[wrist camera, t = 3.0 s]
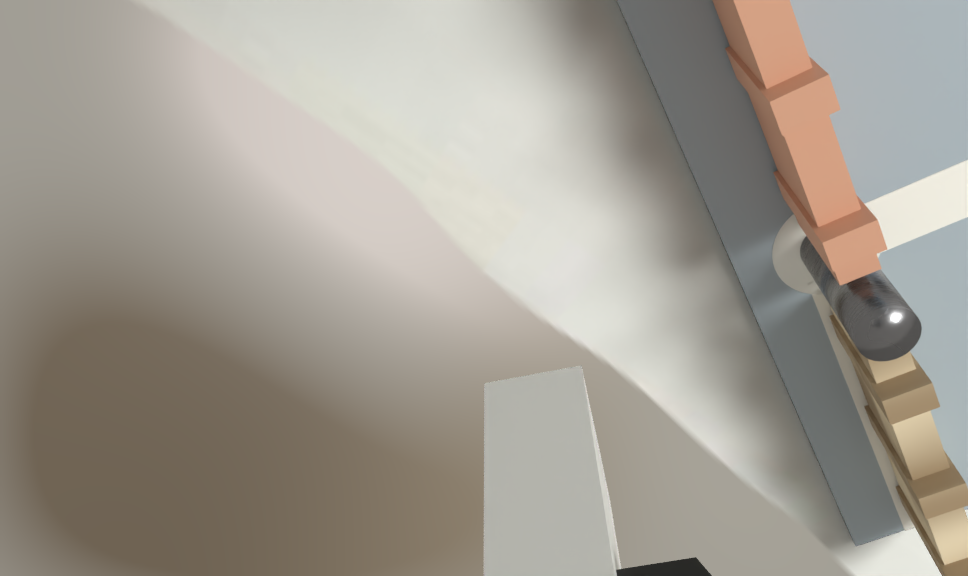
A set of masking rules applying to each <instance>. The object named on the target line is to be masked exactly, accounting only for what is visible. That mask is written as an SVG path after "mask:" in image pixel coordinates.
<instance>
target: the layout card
mask: <svg viewBox="0 0 968 576" xmlns="http://www.w3.org/2000/svg"><path fill="white" fill-rule="evenodd" d="M617 2H618V4H619V7H620V9H621V11H622V14H623V16H624V18H625V20H626V23H627V25H628V27H629V30H630V32H631V34H632V36H633V39H634V41H635V43H636V46H637V48H638V50H639V52H640V55H641V57H642V59H643V62H644V64H645V66H646V68H647V71H648V73H649V75H650V78H651V80H652V82H653V84H654V87H655V89H656V91H657V94H658V96H659V98H660V100H661V103H662V105H663V107H664V110H665V112H666V114H667V116H668V119H669V121H670V123H671V126H672V128H673V130H674V132H675V135H676V137H677V139H678V142H679V144H680V146H681V148H682V151H683V153H684V155H685V158H686V160H687V162H688V164H689V167H690V169H691V171H692V174H693V176H694V178H695V180H696V183H697V185H698V187H699V190H700V192H701V194H702V196H703V199H704V201H705V203H706V206H707V208H708V210H709V212H710V215H711V217H712V219H713V222H714V224H715V226H716V228H717V231H718V233H719V235H720V238H721V240H722V242H723V244H724V247H725V249H726V251H727V254H728V256H729V258H730V260H731V263H732V265H733V267H734V270H735V272H736V274H737V276H738V279H739V281H740V283H741V286H742V288H743V290H744V292H745V295H746V297H747V299H748V302H749V304H750V306H751V308H752V311H753V313H754V315H755V318H756V320H757V322H758V324H759V327H760V329H761V331H762V334H763V336H764V338H765V340H766V343H767V345H768V347H769V350H770V352H771V354H772V356H773V359H774V361H775V363H776V366H777V368H778V370H779V372H780V375H781V377H782V379H783V382H784V384H785V386H786V388H787V391H788V393H789V395H790V398H791V400H792V402H793V404H794V407H795V409H796V411H797V414H798V416H799V418H800V420H801V423H802V425H803V427H804V430H805V432H806V434H807V436H808V439H809V441H810V443H811V446H812V448H813V450H814V452H815V455H816V457H817V459H818V462H819V464H820V466H821V468H822V471H823V473H824V475H825V478H826V480H827V482H828V484H829V487H830V489H831V491H832V494H833V496H834V498H835V500H836V503H837V505H838V507H839V510H840V512H841V514H842V516H843V519H844V521H845V523H846V526H847V528H848V530H849V532H850V535H851V537H852V539H853V541H854V544H855V546H859V545H862V544H865V543H868V542H871V541H874V540H877V539H880V538H883V537H886V536H889V535H892V534H895V533H898V532H901V531H904V530H905V531H906V530H909V529H912V528H915V526H914V524H913V523H912V521H911V519H910V517H909V515H908V514H907V512H906V510H905V508H904V506H903V505H902V503H901V500H900V497H899V495H898V492H897V490H896V486H899V484H898V481H897V478H896V476H895V473H894V471H893V468H892V465H891V463H890V460H889V458H888V455H887V452H886V450H885V448H884V446H883V444H882V443H881V441H880V439H879V437H878V436H877V434H876V432H875V431H874V429H873V427H872V425H871V423H870V420H869V418H868V415H867V412H866V410H865V407H864V406H867V405H868V403H867V400H866V398H865V395H864V393H863V390H862V388H861V385H860V382H859V380H858V377H857V375H856V372H855V369H854V367H853V364H852V362H851V359H850V357H849V356H848V354H847V353H846V351H845V349H844V348H843V346H842V344H841V343H840V341H839V339H838V338H837V335H836V333H835V330H834V328H833V325H832V322H831V320H830V317H829V316H830V315H833V312H832V310H831V307H830V304H829V303H828V301H827V300H826V298H825V296H824V295H823V293H822V292H821V290H820V289H819V287H818V285H817V284H816V282H815V281H814V279H813V277H812V276H811V274H810V273H809V271H808V269H807V268H806V266H805V265H804V263H803V262H802V260H801V257H800V247H801V244H802V242H803V240H804V238H805V237H806V234H805V233H804V231H803V230H802V228H801V227H800V225H799V224H798V221H797V219H796V216H795V215H794V213H793V212H792V210H791V209H790V207H789V206H788V204H787V203H786V202H785V200H784V199H783V196H782V194H781V191H780V189H779V186H778V183H777V181H776V178H775V176H774V173H773V172H775V171H777V167H776V164H775V162H774V159H773V157H772V154H771V151H770V149H769V146H768V144H767V141H766V138H765V136H764V133H763V131H762V128H761V125H760V123H759V120H758V118H757V115H756V112H755V110H754V107H753V105H752V102H751V99H750V97H749V94H748V92H747V91H746V89H745V88H744V87H743V86H742V84H741V83H740V82H739V81H738V79H737V78H736V75H735V73H734V70H733V68H732V65H731V62H730V60H729V57H728V55H727V52H726V50H725V48H727V47H729V46H730V45H729V42H728V40H727V37H726V35H725V32H724V29H723V27H722V24H721V22H720V19H719V16H718V14H717V11H716V9H715V6H714V3H713V1H712V0H617ZM790 3H791V6H792V9H793V12H794V15H795V17H796V20H797V23H798V26H799V29H800V32H801V35H802V38H803V41H804V44H805V47H806V50H807V52H808V55H809V57H811V58H812V59H813V60H814V61H815V62H816V63H817V64H818V65H819V66H820V67H821V68H823V69H824V70H825V71H826V72H827V73H828V74H829V76H830V79H831V82H832V85H833V88H834V91H835V94H836V97H837V100H838V103H839V106H840V109H841V110H839V111H837V112H835V113H832V114H830V115H829V117H830V119H831V122H832V125H833V128H834V131H835V134H836V137H837V140H838V143H839V146H840V149H841V152H842V154H843V157H844V160H845V163H846V166H847V169H848V172H849V175H850V178H851V181H852V184H853V186H854V189H855V192H856V195H857V196H858V197H859V198H860V199H861V201H862V202H863V203H864V204H865V205H866V206H867V208H868V209H869V210H870V211H871V212H872V214H873V215H874V216H875V217H876V218H877V219H878V222H879V225H880V228H881V231H882V234H883V237H884V240H885V243H886V246H887V250H885V251H882V252H880V253H877V256H878V259H879V262H880V265H881V268H882V269H881V270H882V272H883V273H884V274H885V275H886V277H887V278H888V279H889V281H890V282H891V283H892V284H893V286H894V287H895V288H896V290H897V291H898V292H899V293H900V295H901V296H902V297H903V299H904V300H905V301H906V303H907V304H908V305H909V306H910V308H911V309H912V310H913V312H914V313H915V314H916V315H917V317H918V318H919V320H920V322H921V326H922V331H921V336H920V339H919V341H918V342H917V344H916V345H915V346H914V348H913V349H912V350H910V352H911V354H912V355H913V356H914V358H915V359H916V361H917V362H918V363H919V365H920V366H921V368H922V369H923V370H924V372H925V373H926V375H927V376H928V377H929V379H930V380H931V382H932V383H933V386H934V389H935V392H936V395H937V398H938V401H939V404H940V407H939V408H936V409H933V410H931V414H932V417H933V420H934V423H935V425H936V428H937V431H938V434H939V437H940V440H941V443H942V446H943V449H944V451H945V452H946V454H947V455H948V457H949V458H950V460H951V461H952V463H953V464H954V466H955V467H956V469H957V470H958V472H959V473H960V475H961V476H962V478H963V479H964V481H965V482H966V485H967V488H968V0H790ZM966 509H968V506H965V507H964V510H966Z"/></svg>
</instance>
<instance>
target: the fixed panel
mask: <svg viewBox="0 0 968 576" xmlns="http://www.w3.org/2000/svg"><path fill="white" fill-rule="evenodd" d="M830 307H831V306H830ZM831 310H832V312H833V315H830V316H829V317H830V320H831V322H832V325H833V328H834V330H835V333H836V335H837V338H838V339H839V341H840V343H841V344H842V346H843V348H844V349H845V351H846V353H847V354H848V356H849V357H850V359H851V362H852V364H853V367H854V369H855V372H856V375H857V377H858V380H859V382H860V385H861V388H862V390H863V393H864V395H865V398H866V400H867V403H868V405H867V406H864V407H865V410H866V412H867V415H868V418H869V420H870V423H871V425H872V427H873V429H874V431H875V432H876V434H877V436H878V437H879V439H880V441H881V443H882V444H883V446H884V448H885V450H886V452H887V455H888V458H889V460H890V463H891V465H892V468H893V471H894V473H895V476H896V478H897V481H898V484H899V486H896V490H897V492H898V495H899V497H900V500H901V503H902V505H903V506H904V508H905V510H906V512H907V514H908V515H909V517H910V519H911V521H912V523H913V524H914V526H915V528H916V530H917V532H918V533H919V535H920V537H921V539H922V540H923V542H924V544H925V546H926V548H927V549H928V551H929V553H930V555H931V557H932V558H933V560H934V562H935V564H936V566H937V567H938V569H939V571H940V573H941V574H942V576H968V519H967V516H966V513H965V510H964V507H965V506H968V488H967V485H966V482H965V481H964V479H963V478H962V476H961V475H960V473H959V472H958V470H957V469H956V467H955V466H954V464H953V463H952V461H951V460H950V458H949V457H948V455H947V454H946V452H945V451H944V449H943V446H942V443H941V440H940V437H939V434H938V431H937V428H936V425H935V423H934V420H933V417H932V414H931V410H933V409H936V408H939V407H940V404H939V401H938V398H937V395H936V392H935V389H934V386H933V383H932V382H931V380H930V379H929V377H928V376H927V375H926V373H925V372H924V370H923V369H922V368H921V366H920V365H919V363H918V362H917V361H916V359H915V358H914V356H913V355H912V354H911V352H910V351H909V352H908V353H907V354H905V355H903V356H902V357H899V358H897V359H894V360H890V361H873V360H870V359H868V358H866V357H864V356H863V355H862V354H861V353H860V352H859V350H858V349H857V347H856V346H855V344H854V342H853V341H852V339H851V338H850V336H849V335H848V333H847V331H846V330H845V328H844V327H843V325H842V323H841V322H840V320H839V319H838V317H837V315H836V314H835V312H834V311H833V309H832V308H831Z"/></svg>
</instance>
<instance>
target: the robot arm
mask: <svg viewBox="0 0 968 576" xmlns="http://www.w3.org/2000/svg"><path fill="white" fill-rule="evenodd" d="M484 386H485V387H484V388H485V390H484V391H485V392H484V398H485V399H484V400H485V401H484V576H711V574H710V573H709V572H708V571H707V570H706V569H705V567H704V566H703V565H702V564H701V563H700V562H699V560H698V559H697V558H689V559H682V560H677V561H670V562H664V563H657V564H651V565H644V566H638V567H632V568H625V569H621V564H620V558H619V552H618V546H617V540H616V534H615V528H614V522H613V516H612V511H611V505H610V498H609V494H608V489H607V484H606V479H605V475H604V470H603V465H602V460H601V456H600V451H599V446H598V441H597V437H596V432H595V428H594V423H593V418H592V413H591V409H590V403H589V399H588V394H587V389H586V384H585V380H584V375H583V370H582V366H577V367H571V368H566V369H561V370H555V371H549V372H544V373H538V374H534V375H528V376H523V377H517V378H511V379H506V380H501V381H495V382H489V383H485V385H484Z"/></svg>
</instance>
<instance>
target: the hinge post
mask: <svg viewBox="0 0 968 576" xmlns="http://www.w3.org/2000/svg"><path fill="white" fill-rule="evenodd" d="M800 257H801V260H802V262H803V263H804V265H805V266H806V268H807V269H808V271H809V273H810V274H811V276H812V277H813V279H814V281H815V282H816V284H817V285H818V287H819V289H820V290H821V292H822V293H823V295H824V296H825V298H826V300H827V301H828V303H829V304H830V306H831V308H832V309H833V311H834V312H835V314H836V315H837V317H838V319H839V320H840V322H841V323H842V325H843V327H844V328H845V330H846V331H847V333H848V335H849V336H850V338H851V339H852V341H853V342H854V344H855V346H856V347H857V349H858V350H859V352H860V353H861V354H862V355H863V356H864V357H866V358H868V359H870V360H873V361H890V360H894V359H897V358H899V357H902V356H903V355H905V354H907V353H908V352H909V351H910V350H912V349H913V348H914V346H915V345H916V344H917V342H918V341H919V339H920V336H921V331H922V326H921V322H920V320H919V318H918V317H917V315H916V314H915V313H914V312H913V310H912V309H911V308H910V306H909V305H908V304H907V303H906V301H905V300H904V299H903V297H902V296H901V295H900V293H899V292H898V291H897V290H896V288H895V287H894V286H893V284H892V283H891V282H890V281H889V279H888V278H887V277H886V275H885V274H884V273H883V272H882V270H881V269H880V270H878V271H875V272H873V273H870V274H868V275H865V276H863V277H860V278H858V279H855V280H853V281H851V282H848V283H846V284H843V285H841V286H840V285H839V283H838V282H837V280H836V279H835V277H834V276H833V274H832V273H831V271H830V270H829V268H828V267H827V265H826V264H825V262H824V261H823V260H822V258H821V257H820V255H819V254H818V252H817V251H816V249H815V248H814V246H813V245H812V243H811V242H810V240H809V239H808V237H807V236H806V237H805V238H804V240H803V242H802V244H801V247H800Z"/></svg>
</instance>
